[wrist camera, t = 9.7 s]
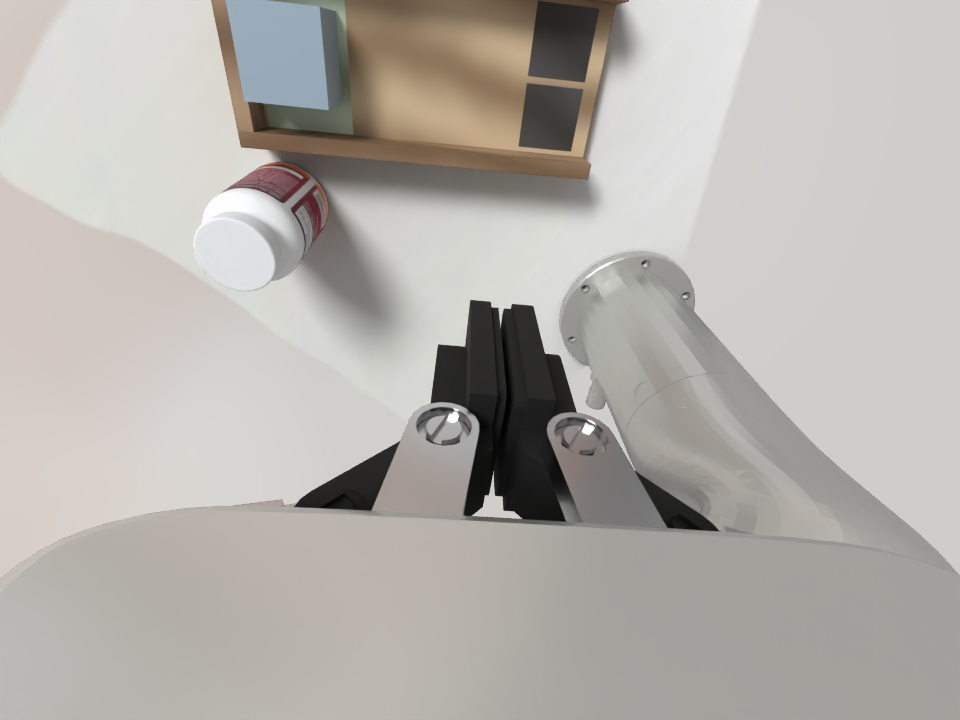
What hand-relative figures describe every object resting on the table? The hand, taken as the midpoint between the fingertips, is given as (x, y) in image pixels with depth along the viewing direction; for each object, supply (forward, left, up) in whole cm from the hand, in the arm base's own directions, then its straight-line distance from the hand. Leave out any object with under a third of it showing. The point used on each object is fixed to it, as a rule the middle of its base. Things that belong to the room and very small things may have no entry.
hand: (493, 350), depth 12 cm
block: (+5, +12, -26) cm, 29 cm away
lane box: (+5, +3, -27) cm, 27 cm away
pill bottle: (-5, +14, -27) cm, 31 cm away
